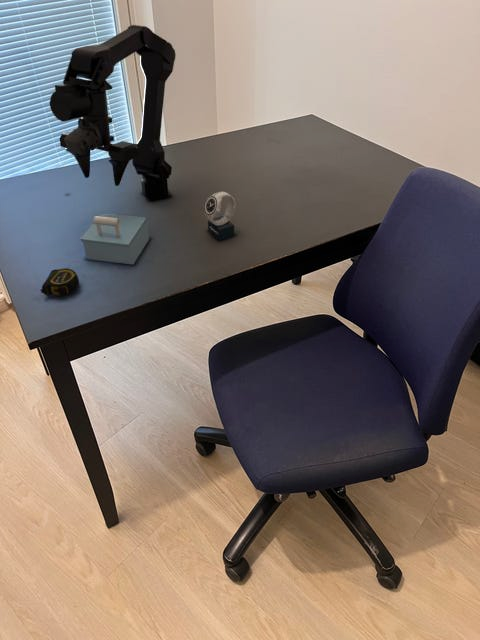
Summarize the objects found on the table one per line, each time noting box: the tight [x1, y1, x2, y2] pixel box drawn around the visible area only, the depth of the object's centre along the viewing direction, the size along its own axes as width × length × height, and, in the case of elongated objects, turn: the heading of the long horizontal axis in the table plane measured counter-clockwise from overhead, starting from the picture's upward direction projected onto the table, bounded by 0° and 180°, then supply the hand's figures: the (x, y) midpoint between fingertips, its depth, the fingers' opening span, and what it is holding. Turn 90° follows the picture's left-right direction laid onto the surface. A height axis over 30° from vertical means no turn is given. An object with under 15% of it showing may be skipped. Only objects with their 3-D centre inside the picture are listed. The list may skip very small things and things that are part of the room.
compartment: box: [82, 220, 150, 266], centre depth 115 cm, size 12×12×5 cm
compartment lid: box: [80, 212, 148, 247], centre depth 111 cm, size 12×12×5 cm
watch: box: [203, 191, 237, 241], centre depth 119 cm, size 6×8×11 cm
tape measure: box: [40, 267, 80, 297], centre depth 103 cm, size 7×7×4 cm
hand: (102, 181), depth 116 cm, fingers open, 9 cm apart
